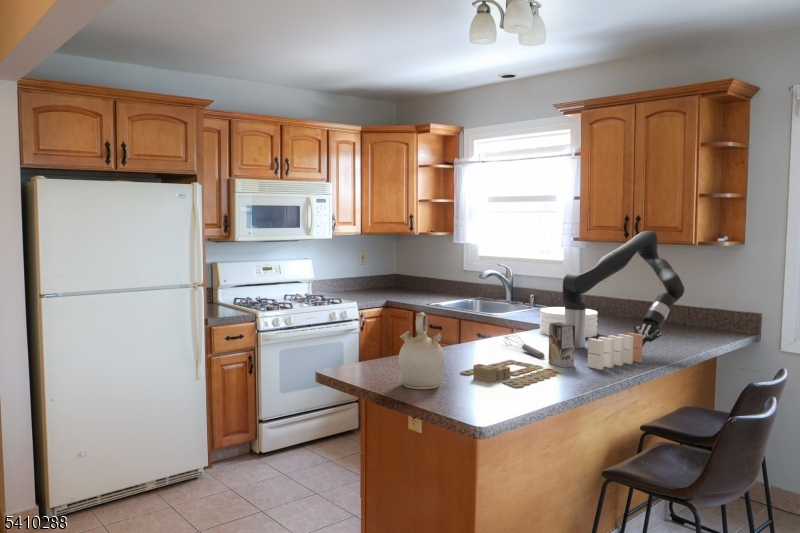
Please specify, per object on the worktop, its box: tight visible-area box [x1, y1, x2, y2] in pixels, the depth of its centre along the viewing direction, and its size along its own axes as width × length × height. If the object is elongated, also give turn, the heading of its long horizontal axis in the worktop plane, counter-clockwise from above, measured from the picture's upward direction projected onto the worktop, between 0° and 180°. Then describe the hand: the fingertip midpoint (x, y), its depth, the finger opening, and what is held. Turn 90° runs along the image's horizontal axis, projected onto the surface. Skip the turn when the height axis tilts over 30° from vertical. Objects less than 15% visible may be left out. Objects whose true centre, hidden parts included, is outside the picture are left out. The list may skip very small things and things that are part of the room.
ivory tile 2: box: [607, 334, 624, 367], centre depth 252 cm, size 2×6×11 cm, turn 35°
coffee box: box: [548, 322, 576, 368], centre depth 250 cm, size 9×6×16 cm
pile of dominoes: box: [459, 359, 563, 389], centre depth 234 cm, size 35×27×6 cm
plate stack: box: [539, 306, 598, 339], centre depth 322 cm, size 28×28×12 cm
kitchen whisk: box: [503, 332, 546, 359], centre depth 275 cm, size 6×34×6 cm, turn 18°
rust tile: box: [626, 332, 643, 363], centre depth 258 cm, size 2×6×11 cm, turn 35°
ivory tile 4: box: [587, 337, 604, 371], centre depth 245 cm, size 2×6×11 cm, turn 34°
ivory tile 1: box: [617, 333, 634, 365], centre depth 255 cm, size 2×6×11 cm, turn 35°
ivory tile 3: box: [598, 336, 614, 369], centre depth 248 cm, size 2×6×11 cm, turn 34°
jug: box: [398, 311, 445, 391], centre depth 216 cm, size 15×16×25 cm
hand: (637, 347), depth 260 cm, fingers closed
